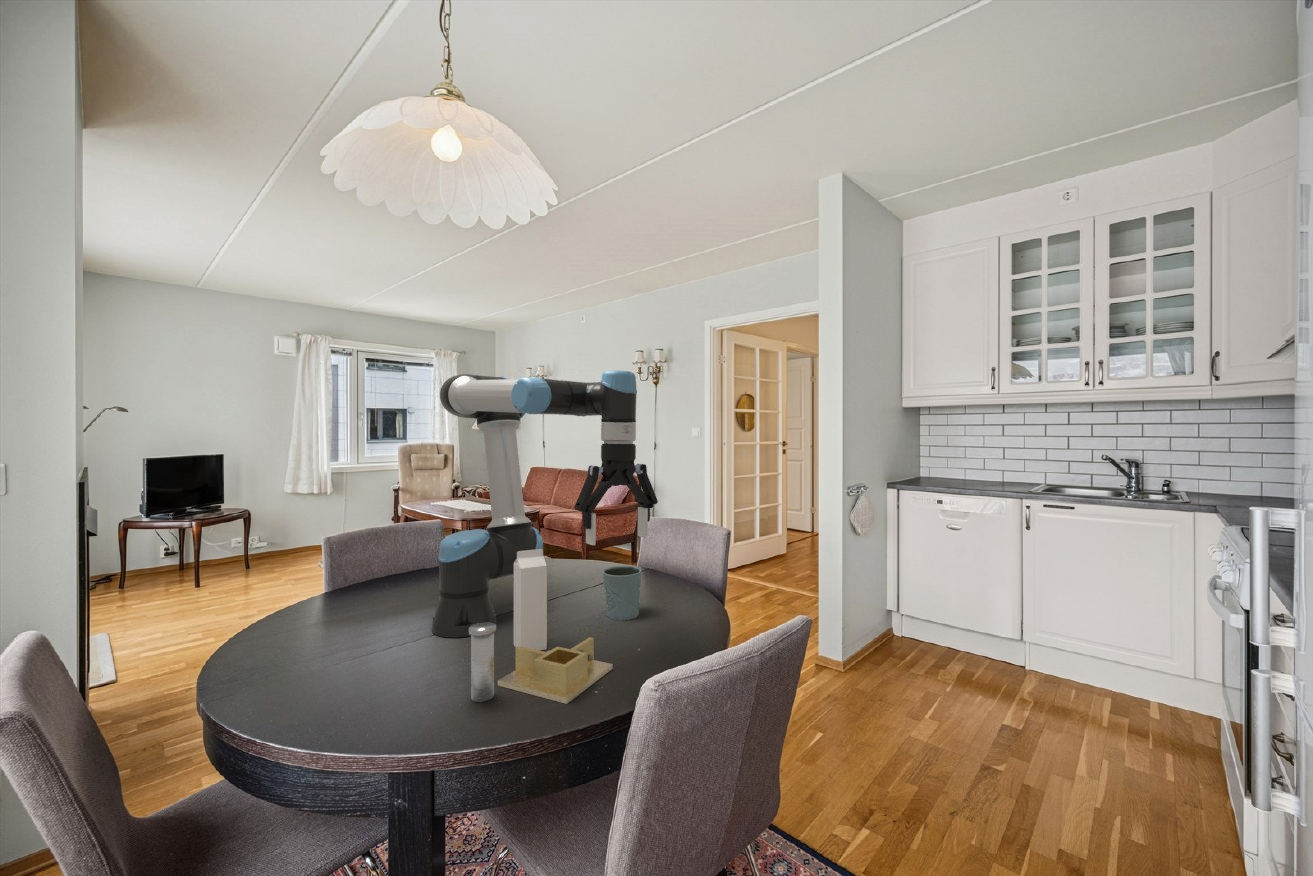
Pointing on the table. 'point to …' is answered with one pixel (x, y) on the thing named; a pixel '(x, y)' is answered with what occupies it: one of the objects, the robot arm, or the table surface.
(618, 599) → the teal cup
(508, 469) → the robot arm
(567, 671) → the open box on plate
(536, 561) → the milk
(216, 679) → the table surface
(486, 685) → the pin
